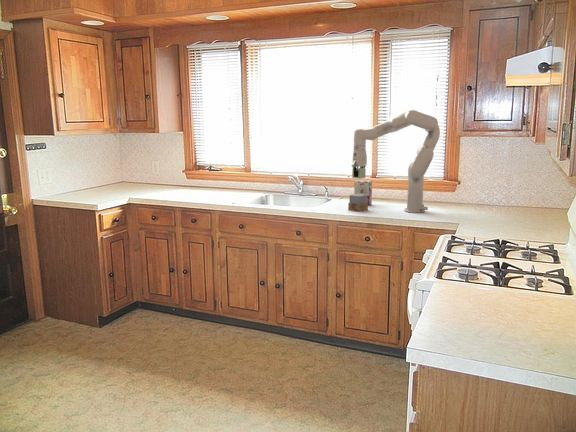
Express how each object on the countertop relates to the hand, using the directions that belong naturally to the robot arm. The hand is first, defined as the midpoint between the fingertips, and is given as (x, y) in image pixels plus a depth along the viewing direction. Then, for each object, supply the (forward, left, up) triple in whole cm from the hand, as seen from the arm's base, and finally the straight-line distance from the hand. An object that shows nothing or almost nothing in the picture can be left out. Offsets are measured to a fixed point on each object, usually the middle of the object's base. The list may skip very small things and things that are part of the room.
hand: (358, 176), depth 325 cm
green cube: (0, 0, -1) cm, 1 cm away
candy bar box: (+9, -19, -22) cm, 31 cm away
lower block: (0, 0, -22) cm, 22 cm away
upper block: (0, 0, -17) cm, 17 cm away
